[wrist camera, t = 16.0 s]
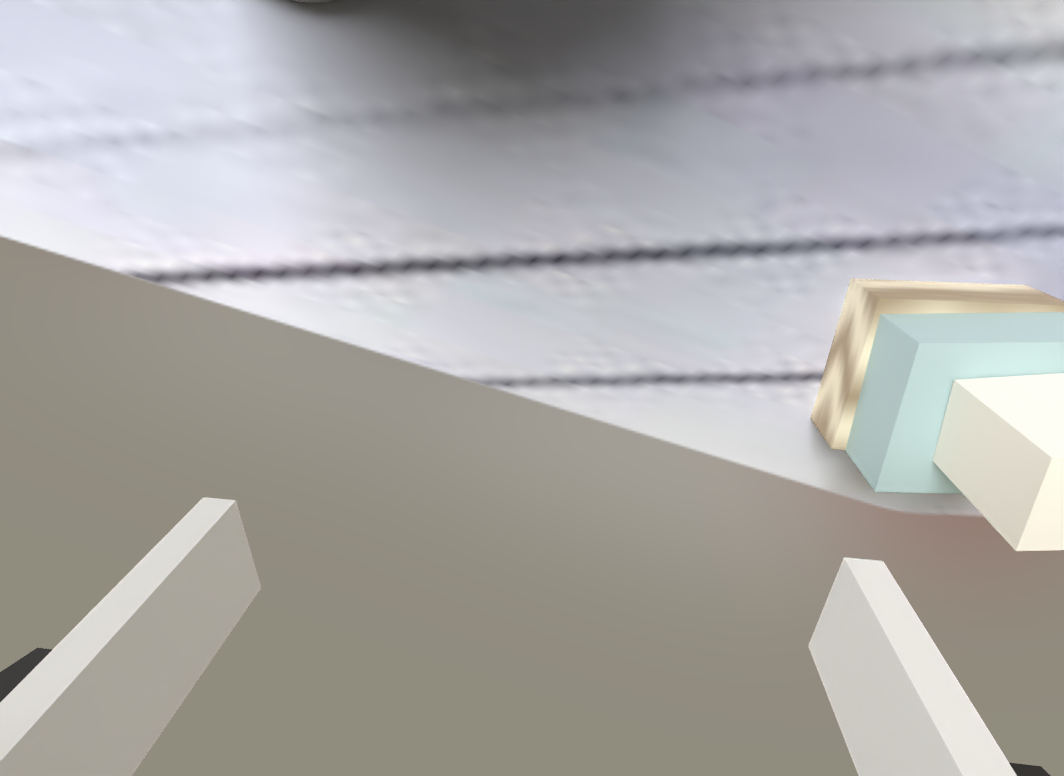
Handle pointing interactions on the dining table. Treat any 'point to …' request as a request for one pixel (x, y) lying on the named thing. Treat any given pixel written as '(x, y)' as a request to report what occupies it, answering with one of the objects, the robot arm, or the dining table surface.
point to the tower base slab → (899, 298)
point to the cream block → (1009, 454)
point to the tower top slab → (937, 385)
